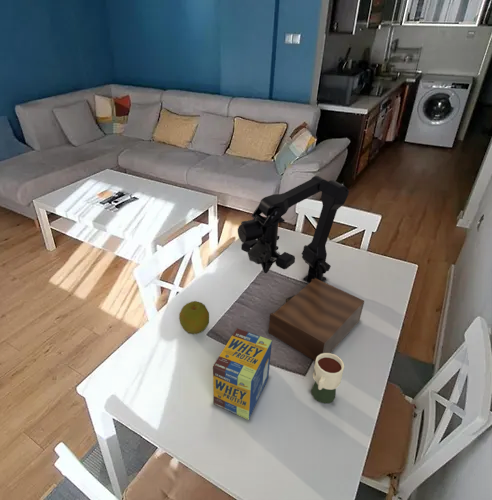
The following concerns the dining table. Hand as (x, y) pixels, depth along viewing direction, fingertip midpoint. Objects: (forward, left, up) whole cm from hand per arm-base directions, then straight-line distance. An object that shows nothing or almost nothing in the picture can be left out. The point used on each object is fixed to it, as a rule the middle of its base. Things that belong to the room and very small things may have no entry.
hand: (265, 272), depth 135 cm
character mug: (+23, +38, -11) cm, 45 cm away
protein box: (+37, +21, -11) cm, 44 cm away
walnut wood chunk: (+2, +22, -10) cm, 24 cm away
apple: (+29, -6, -11) cm, 32 cm away
